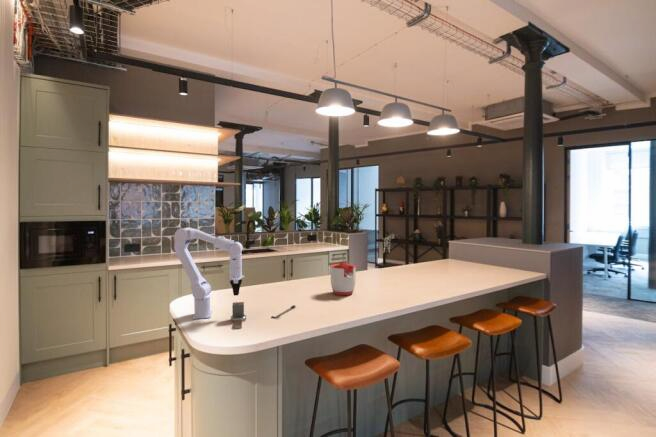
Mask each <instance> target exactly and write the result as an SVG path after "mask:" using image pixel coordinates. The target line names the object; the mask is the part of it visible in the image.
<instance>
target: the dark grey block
mask: <svg viewBox="0 0 656 437" xmlns="http://www.w3.org/2000/svg"><path fill="white" fill-rule="evenodd" d="M231 311H232V315H233V318H244V315H245V302H244V301H240V302H237V301H236V302H232V310H231Z"/></svg>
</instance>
